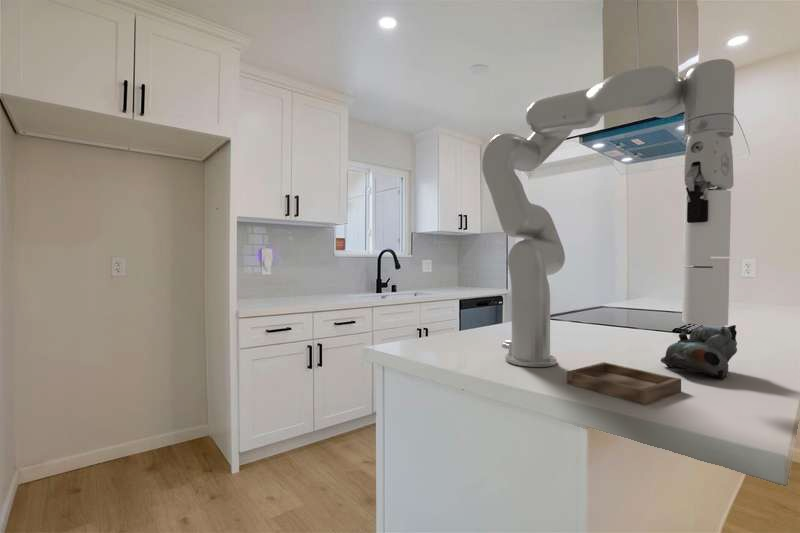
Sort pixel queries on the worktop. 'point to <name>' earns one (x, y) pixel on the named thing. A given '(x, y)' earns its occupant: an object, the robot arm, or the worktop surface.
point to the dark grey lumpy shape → (704, 350)
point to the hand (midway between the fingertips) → (706, 222)
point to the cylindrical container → (707, 263)
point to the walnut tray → (625, 382)
